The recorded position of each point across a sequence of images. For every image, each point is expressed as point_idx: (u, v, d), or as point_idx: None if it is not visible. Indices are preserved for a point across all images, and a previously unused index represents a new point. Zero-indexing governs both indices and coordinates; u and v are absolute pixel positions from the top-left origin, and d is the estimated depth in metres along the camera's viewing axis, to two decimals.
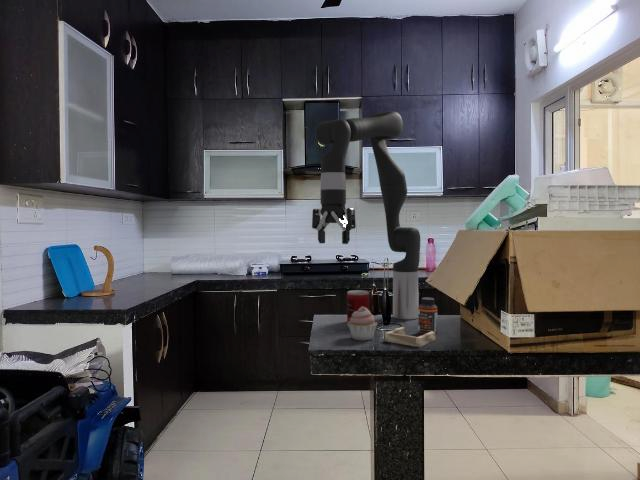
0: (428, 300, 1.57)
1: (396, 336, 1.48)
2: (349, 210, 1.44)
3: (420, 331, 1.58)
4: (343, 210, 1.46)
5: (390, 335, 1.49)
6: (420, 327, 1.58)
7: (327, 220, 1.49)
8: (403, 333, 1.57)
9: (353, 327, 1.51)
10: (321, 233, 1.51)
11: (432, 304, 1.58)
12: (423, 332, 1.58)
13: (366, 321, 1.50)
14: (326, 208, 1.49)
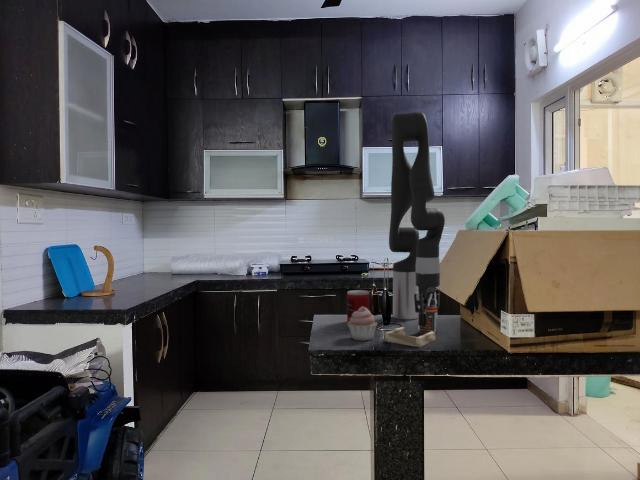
0: None
1: (396, 336, 1.48)
2: (439, 291, 1.64)
3: (420, 331, 1.58)
4: None
5: (390, 335, 1.49)
6: (420, 327, 1.58)
7: None
8: (403, 333, 1.57)
9: (353, 327, 1.51)
10: None
11: (432, 304, 1.58)
12: (423, 332, 1.58)
13: (366, 321, 1.50)
14: (428, 290, 1.57)
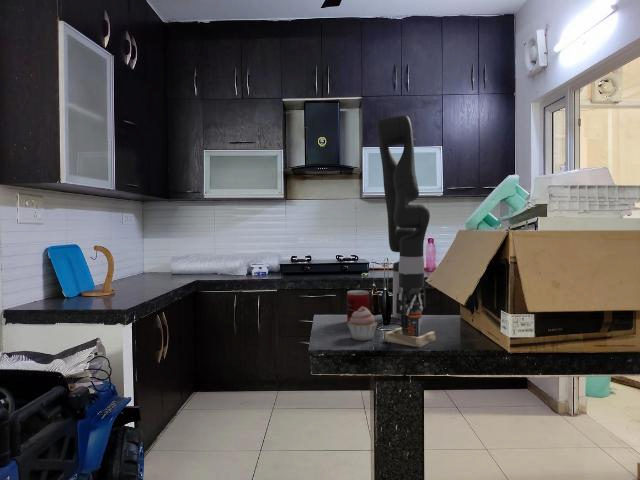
0: None
1: (396, 336, 1.48)
2: (424, 290, 1.55)
3: None
4: None
5: (390, 335, 1.49)
6: (403, 333, 1.50)
7: (412, 303, 1.49)
8: None
9: (353, 327, 1.51)
10: None
11: (416, 309, 1.49)
12: None
13: (366, 321, 1.50)
14: (412, 291, 1.49)
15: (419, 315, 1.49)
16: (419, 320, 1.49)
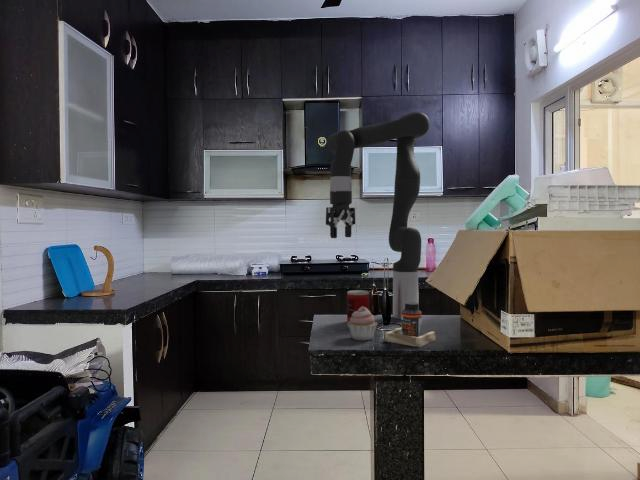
0: (412, 305, 1.49)
1: (396, 336, 1.48)
2: (354, 209, 1.77)
3: None
4: None
5: (390, 335, 1.49)
6: (403, 333, 1.50)
7: None
8: None
9: (353, 327, 1.51)
10: None
11: (416, 309, 1.49)
12: None
13: (366, 321, 1.50)
14: (340, 207, 1.71)
15: (419, 315, 1.49)
16: (419, 320, 1.49)
